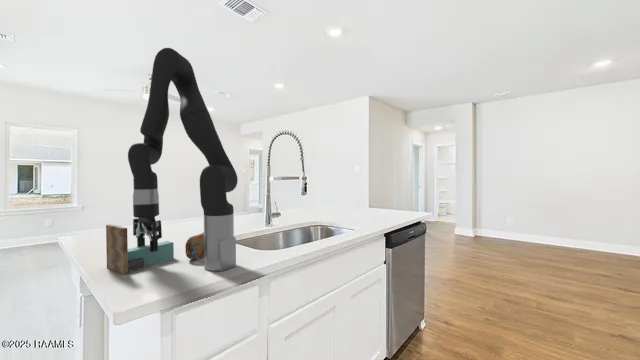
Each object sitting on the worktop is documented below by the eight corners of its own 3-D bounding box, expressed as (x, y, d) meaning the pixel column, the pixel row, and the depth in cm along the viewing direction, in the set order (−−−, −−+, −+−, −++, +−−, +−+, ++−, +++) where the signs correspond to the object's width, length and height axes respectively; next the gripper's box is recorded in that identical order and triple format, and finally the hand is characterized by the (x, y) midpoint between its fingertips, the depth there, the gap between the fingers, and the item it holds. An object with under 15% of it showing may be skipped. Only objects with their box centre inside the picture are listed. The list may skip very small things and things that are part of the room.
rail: (173, 258, 103) (173, 242, 103) (124, 271, 90) (124, 252, 90) (167, 257, 105) (167, 241, 105) (118, 269, 92) (118, 250, 92)
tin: (191, 262, 98) (191, 238, 98) (183, 262, 99) (183, 238, 99) (216, 251, 113) (215, 230, 113) (208, 250, 114) (208, 229, 113)
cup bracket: (147, 268, 92) (146, 225, 92) (123, 274, 86) (122, 228, 86) (129, 262, 99) (128, 222, 98) (106, 267, 93) (106, 224, 93)
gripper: (168, 202, 96) (169, 250, 97) (147, 200, 104) (148, 245, 104) (145, 204, 90) (146, 255, 90) (124, 202, 98) (125, 249, 98)
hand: (147, 249), depth 97 cm, fingers open, 8 cm apart
